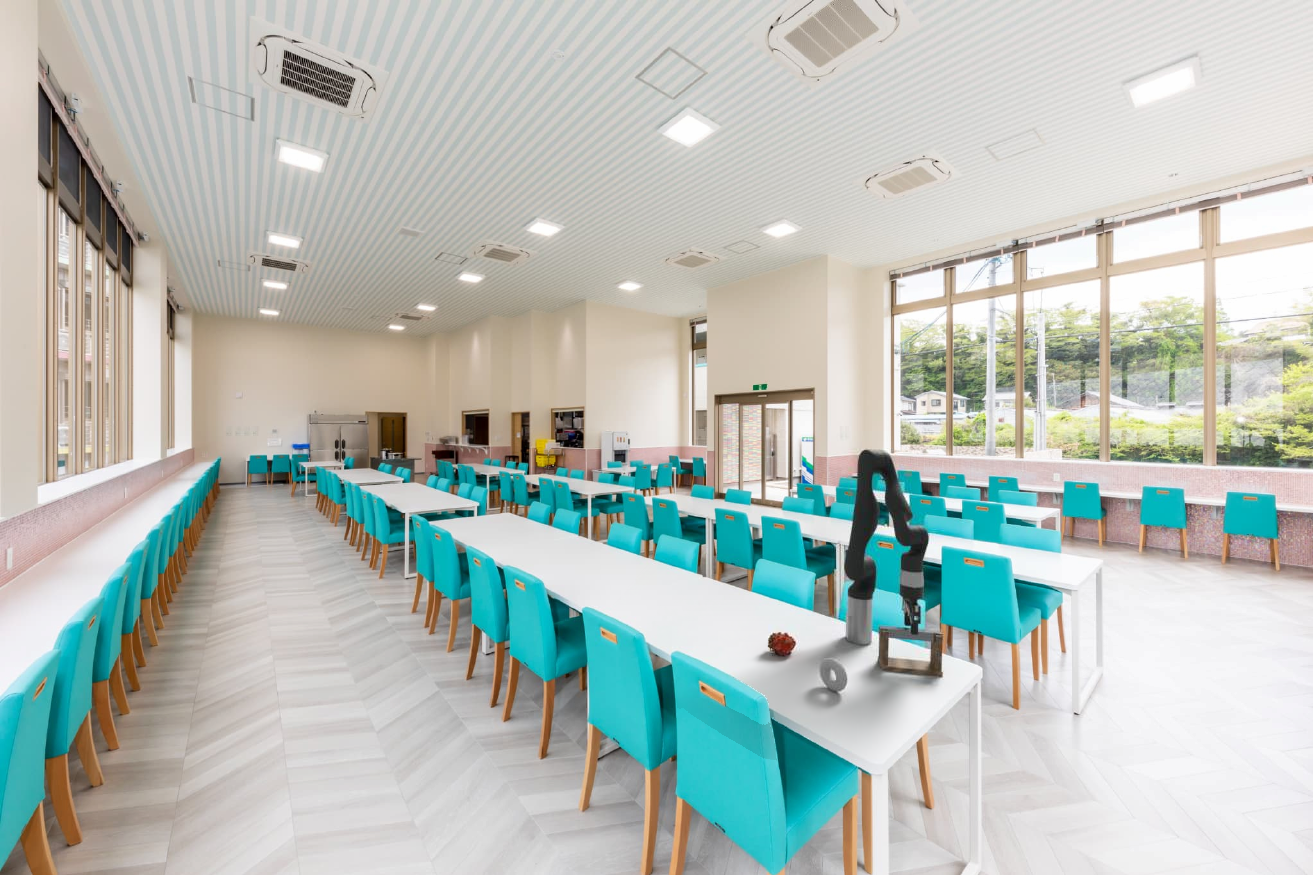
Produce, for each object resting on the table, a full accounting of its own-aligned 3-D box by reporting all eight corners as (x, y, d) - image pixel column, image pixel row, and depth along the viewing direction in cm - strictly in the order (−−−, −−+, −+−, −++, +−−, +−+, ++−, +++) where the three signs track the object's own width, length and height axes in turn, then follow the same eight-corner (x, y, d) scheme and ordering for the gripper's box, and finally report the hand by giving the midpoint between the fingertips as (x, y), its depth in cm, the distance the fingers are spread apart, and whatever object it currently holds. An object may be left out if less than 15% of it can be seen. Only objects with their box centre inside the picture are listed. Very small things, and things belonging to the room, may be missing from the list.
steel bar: (880, 636, 186) (880, 628, 186) (878, 633, 189) (878, 625, 189) (942, 642, 182) (942, 633, 182) (939, 639, 185) (940, 630, 185)
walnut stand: (882, 670, 184) (883, 632, 184) (877, 660, 192) (878, 624, 191) (942, 676, 180) (943, 637, 180) (935, 666, 188) (936, 629, 188)
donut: (816, 684, 172) (817, 653, 172) (824, 682, 174) (825, 651, 174) (841, 698, 164) (842, 666, 164) (849, 695, 165) (850, 663, 165)
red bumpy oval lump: (764, 658, 195) (792, 659, 199) (776, 652, 188) (805, 653, 192) (760, 634, 200) (787, 636, 204) (772, 628, 193) (799, 629, 197)
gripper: (895, 577, 193) (894, 622, 193) (905, 588, 179) (904, 636, 179) (917, 578, 192) (916, 623, 192) (929, 589, 178) (928, 638, 178)
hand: (910, 629), depth 185 cm, fingers open, 8 cm apart
